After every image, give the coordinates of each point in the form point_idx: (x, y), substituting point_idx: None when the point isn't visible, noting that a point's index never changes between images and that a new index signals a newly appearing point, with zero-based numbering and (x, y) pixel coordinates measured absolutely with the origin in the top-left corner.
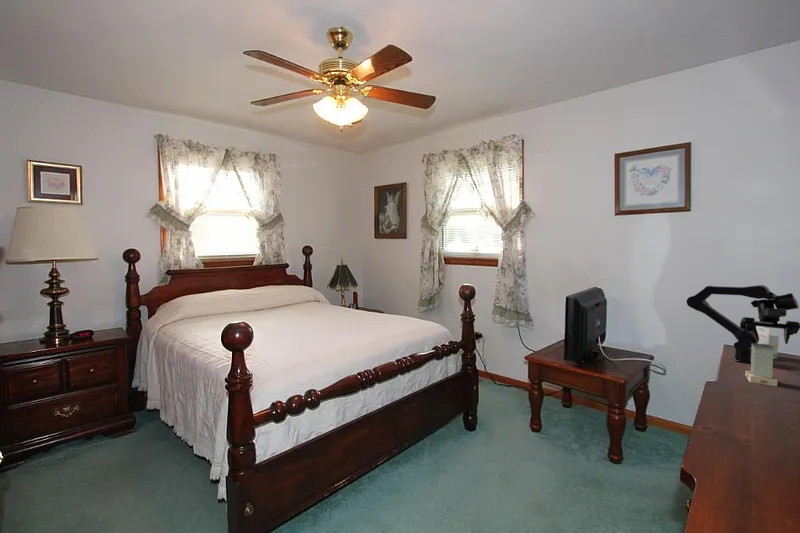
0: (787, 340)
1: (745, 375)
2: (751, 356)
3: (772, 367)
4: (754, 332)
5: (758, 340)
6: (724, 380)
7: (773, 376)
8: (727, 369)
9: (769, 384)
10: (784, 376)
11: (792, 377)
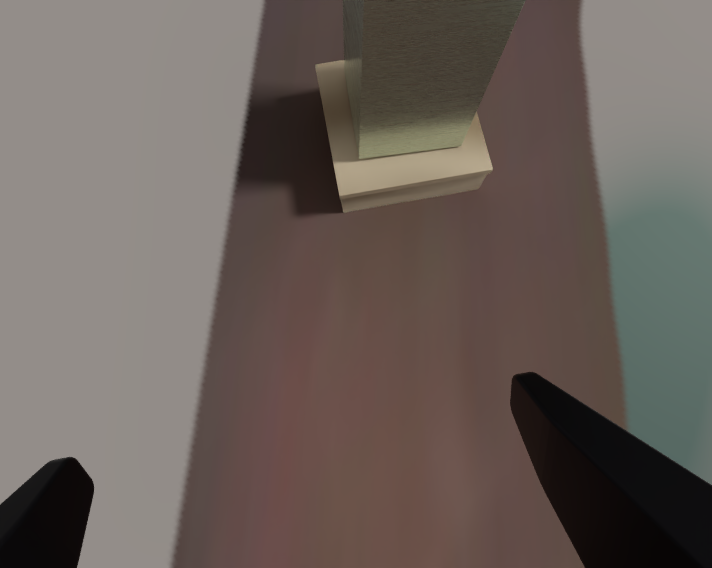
0: (15, 503)
1: (479, 181)
2: (502, 42)
3: (343, 1)
4: (709, 488)
5: (511, 390)
6: (567, 19)
7: (332, 137)
8: (592, 294)
9: None
10: (251, 384)
11: (204, 395)
